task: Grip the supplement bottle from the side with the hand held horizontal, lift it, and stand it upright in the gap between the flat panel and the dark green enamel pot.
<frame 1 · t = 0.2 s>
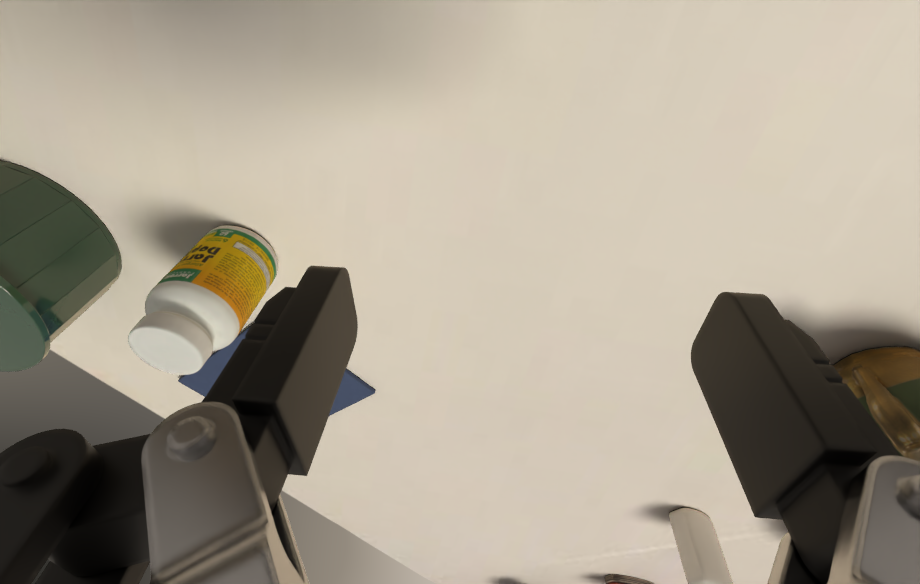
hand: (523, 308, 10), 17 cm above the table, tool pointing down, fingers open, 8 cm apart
eye dropper bottle: (689, 514, 52), on the table
cup: (887, 386, 35), on the table
pot: (39, 232, 32), on the table
supplement bottle: (245, 252, 32), on the table
lighter: (629, 579, 67), on the table
flat panel: (276, 383, 41), on the table
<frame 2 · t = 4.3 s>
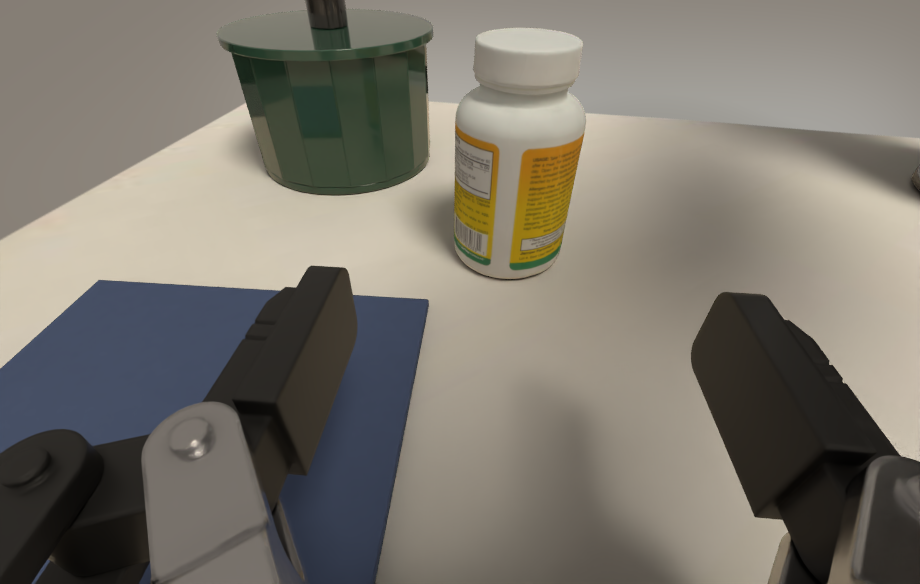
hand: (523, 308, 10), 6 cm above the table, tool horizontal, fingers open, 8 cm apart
pot: (350, 156, 31), on the table
supplement bottle: (506, 253, 23), on the table
pot lid: (330, 35, 26), point 7 cm above the table, touching pot
flat panel: (190, 410, 15), on the table
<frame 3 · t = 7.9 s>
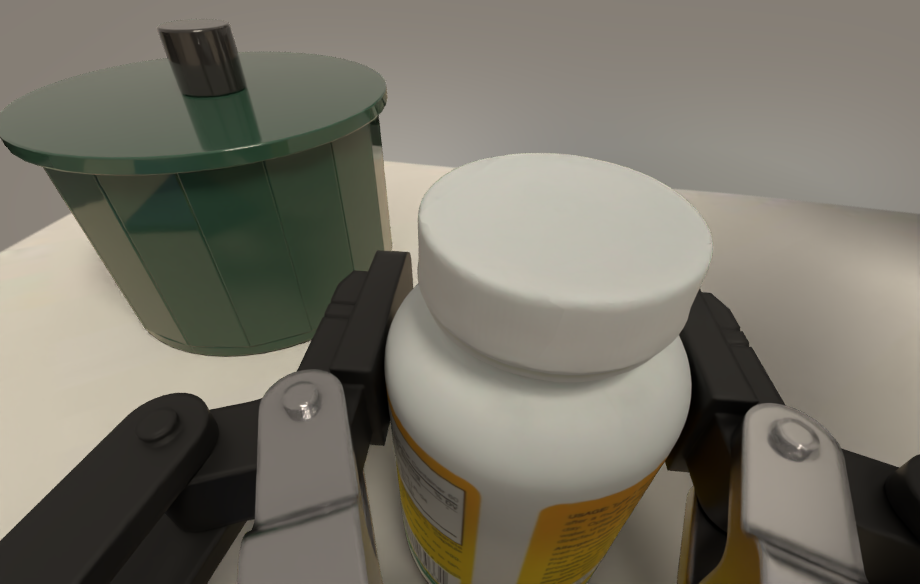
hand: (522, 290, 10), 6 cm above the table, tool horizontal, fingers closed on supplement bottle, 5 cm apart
pot: (272, 267, 21), on the table
supplement bottle: (501, 516, 12), on the table, touching gripper
pot lid: (219, 103, 16), point 7 cm above the table, touching pot
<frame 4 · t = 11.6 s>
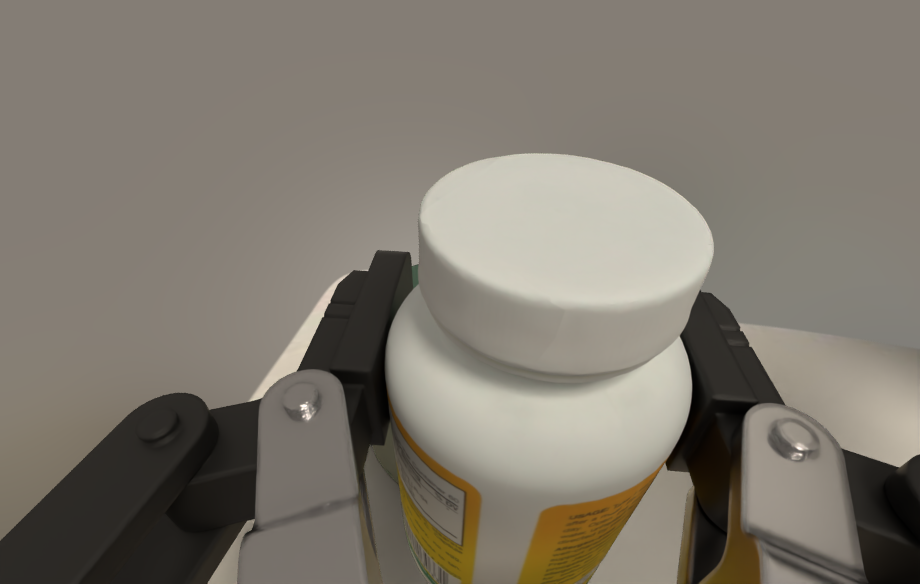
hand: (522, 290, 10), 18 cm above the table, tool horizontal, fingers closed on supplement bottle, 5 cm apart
pot: (458, 416, 28), on the table
supplement bottle: (502, 516, 12), point 11 cm above the table, touching gripper
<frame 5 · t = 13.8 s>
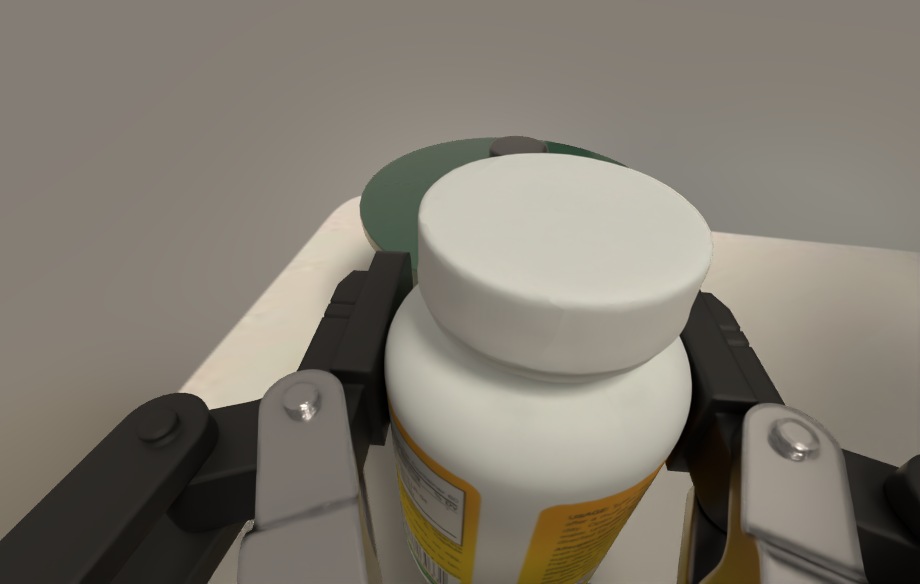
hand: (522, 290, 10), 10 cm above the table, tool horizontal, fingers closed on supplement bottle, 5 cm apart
supplement bottle: (501, 516, 12), point 4 cm above the table, touching gripper
pot lid: (512, 206, 18), point 7 cm above the table, touching pot
when the fingers open (6 cm above the table, at t = 15.4 s): supplement bottle stays where it is, on the table.
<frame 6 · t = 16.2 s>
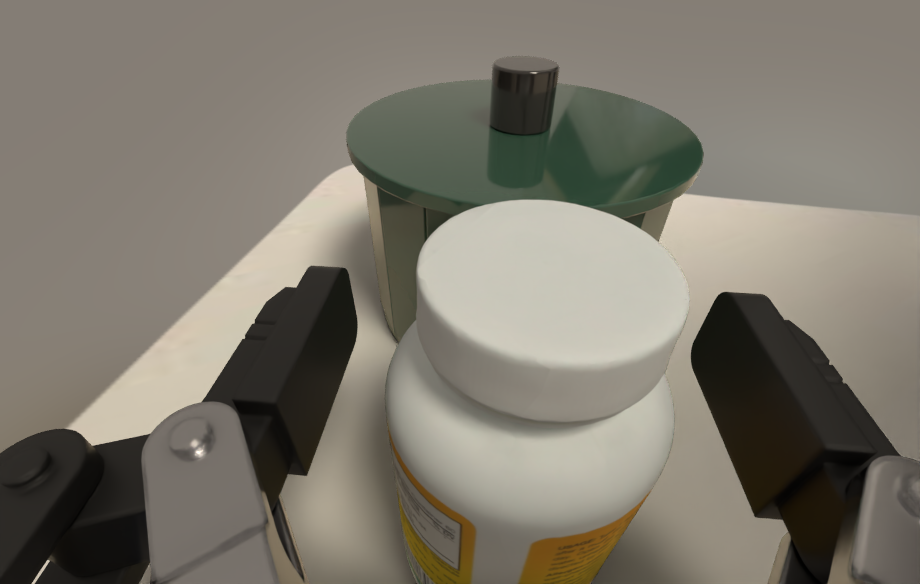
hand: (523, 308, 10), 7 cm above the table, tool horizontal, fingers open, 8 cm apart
pot: (502, 295, 21), on the table
supplement bottle: (498, 533, 13), on the table
pot lid: (518, 138, 16), point 7 cm above the table, touching pot
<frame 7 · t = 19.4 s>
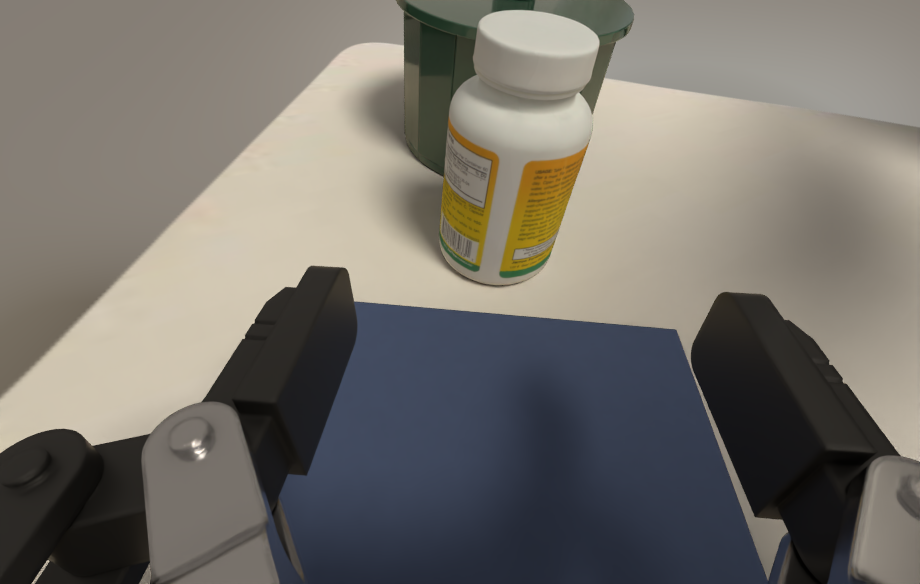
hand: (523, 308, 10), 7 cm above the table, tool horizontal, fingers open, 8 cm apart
pot: (492, 138, 28), on the table
supplement bottle: (493, 252, 21), on the table
pot lid: (513, 5, 23), point 7 cm above the table, touching pot
flat panel: (500, 463, 14), on the table
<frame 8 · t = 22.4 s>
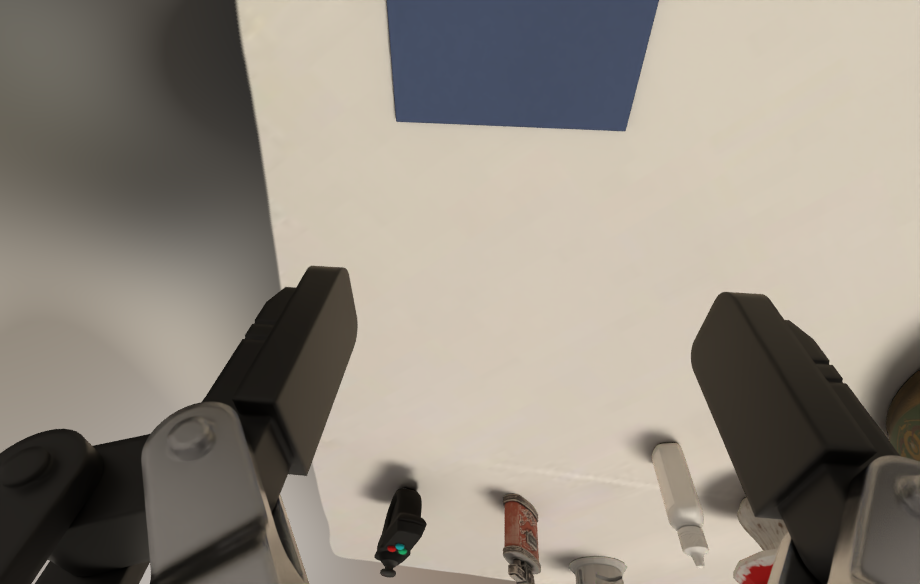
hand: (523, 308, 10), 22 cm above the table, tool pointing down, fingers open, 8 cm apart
eye dropper bottle: (666, 452, 52), on the table
controller: (408, 488, 63), on the table
french press: (592, 564, 76), on the table
lighter: (520, 505, 64), on the table
decorative mushroom: (766, 500, 57), on the table
flat panel: (518, 18, 25), on the table
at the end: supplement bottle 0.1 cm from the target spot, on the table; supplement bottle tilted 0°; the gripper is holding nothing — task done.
